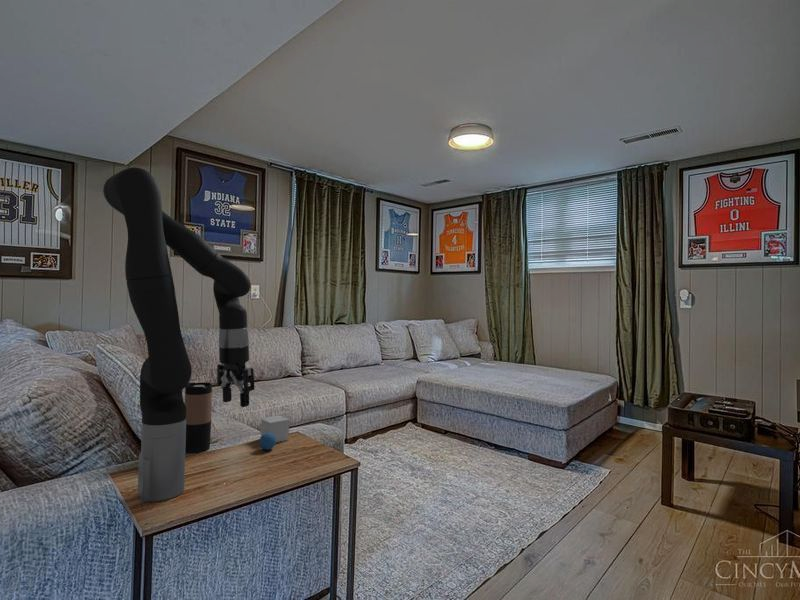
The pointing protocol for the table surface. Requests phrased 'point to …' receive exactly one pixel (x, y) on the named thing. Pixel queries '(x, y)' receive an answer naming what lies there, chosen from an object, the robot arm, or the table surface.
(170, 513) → the table surface
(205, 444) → the travel mug
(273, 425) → the matte gray cube
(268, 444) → the ball
